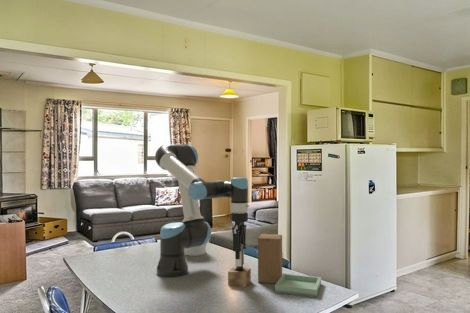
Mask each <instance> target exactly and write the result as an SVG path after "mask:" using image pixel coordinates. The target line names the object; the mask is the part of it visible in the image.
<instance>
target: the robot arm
mask: <svg viewBox="0 0 470 313" xmlns="http://www.w3.org/2000/svg"><path fill="white" fill-rule="evenodd" d="M154 159H155V162H156V165H157V166H159V168H160V169H161V170H164V171H167V172H168V173H170V174H171V175H172V176H173V177H174V178H175V179H176V180H177V181H178V182H177V183H178V187H179V193H180V201H181V206H182V212H183V213H182V214H183V220H182V221H181V222H180V221H177V222H170V223H169V222H168V223H167V224H164V225H162V226H161V228H160V234H159V238H160V239H159V240H160V243H159V244H160V247H159V248H160V249H159V250H160V252H159V254H160V257H159V261H158V264H157V267H156V275H158V276H161V277H168V278H169V277H171V278H173V277H181V276H184V275H186V274H188V273H189V266H188V263H187V260H186V255H185V254H184V251H185V248H191V247H196V246H201V245H205V244H206V245H207V244H208V243H209V241H210V239H211V237H212V228H211V225H210V224H209V222H207V221H205V217H204V216H202V214H201V210H200V204H199V203H200V202H199V200H200V201H201V200H207V199H208V200H209V199H219V198H220V199H221V198H230V220H231V222H234V225H233V228H232V230H231V231H232V246H233V247H232V248H233V249H232V251H233V252H234V260H235V261H234V267H236V266H242V251H241V244H243V265H245V250H246V249H247V246H246V244H247V243H246V239H247V238H246V237H247V224H245V222H247V221H249V213H248V212H249V207H250V206H249V183H248V178H247V177H245V176H244V177H243V176H242V177H239V176H238V177H237V176H236V177H231V178H230V181H229V180H216V181H205V180H204V179H203V178H202V177H200V176H199V175H198V174H197V173H196V172H194V170H195V169H196V165H197V164H198V160H199V154H198V151H197V149H196V148H195V146H193V145H191V144H186V143H182V144H178V143H177V144H175V143H173V144H172V143H165V144H163V145H161V146H160V147H158V149H156V151H155V155H154Z"/></svg>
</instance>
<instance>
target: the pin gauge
mask: <svg viewBox="0 0 470 313" xmlns="http://www.w3.org/2000/svg"><path fill="white" fill-rule="evenodd" d="M241 251H242V266H235V267H236V271H243V267H244V264H243V244H241Z"/></svg>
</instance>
